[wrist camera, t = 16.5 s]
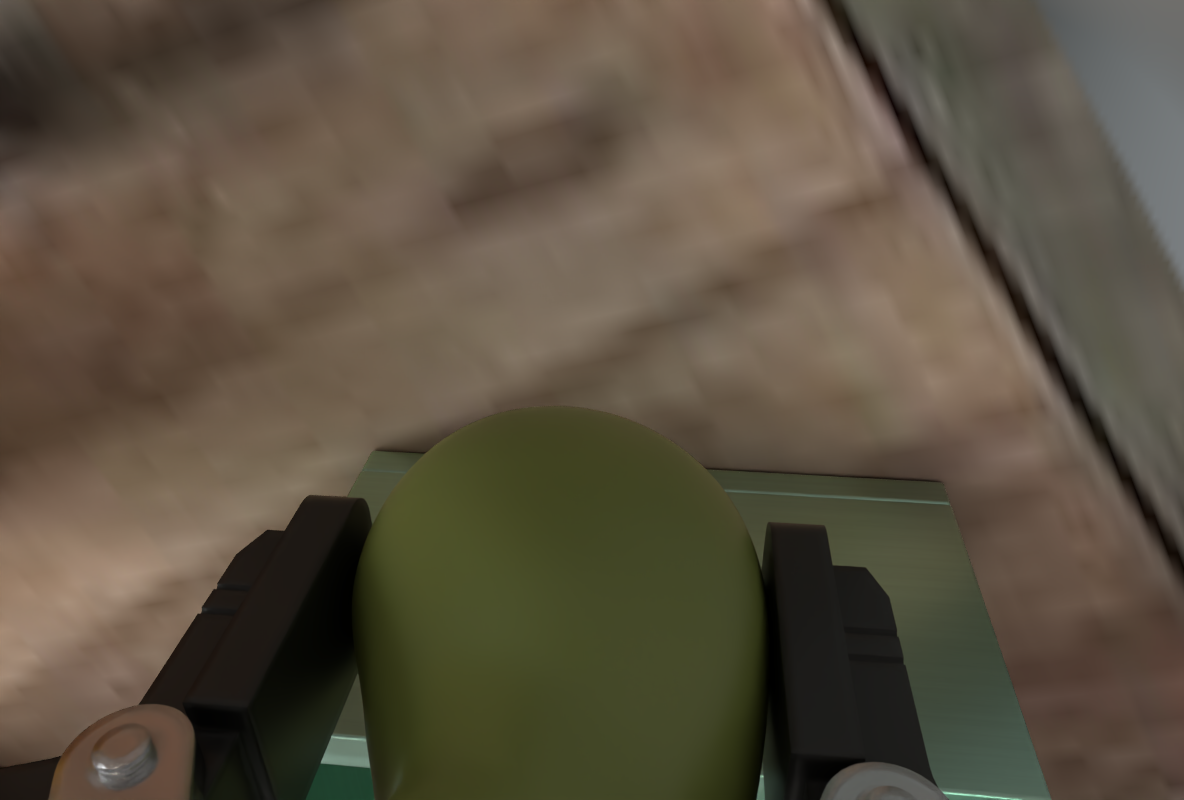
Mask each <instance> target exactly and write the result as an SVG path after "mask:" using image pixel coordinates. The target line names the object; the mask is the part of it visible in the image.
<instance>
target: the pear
mask: <svg viewBox="0 0 1184 800" xmlns="http://www.w3.org/2000/svg"><path fill="white" fill-rule="evenodd" d="M352 631H353V641H354V649H355V656H356V663H357V669H358V675H359V682H360V688H361V695H362V704H363V713H364V723H365V734H366V742H367V750H368V756H369V763H370V770H371V776H372V783H373V791H374V799H375V800H756V799H757V794H758V788H759V782H760V776H761V769H762V762H763V754H764V745H765V736H766V725H767V714H768V700H769V682H770V629H769V616H768V606H767V598H766V592H765V586H764V580H763V576H762V571H761V567H760V563H759V560H758V556H757V553H756V550H755V547H754V544H753V542H752V539H751V536H750V534H749V532H748V529H747V527H746V525H745V523H744V521H743V519H742V517H741V515H740V513H739V512H738V510H737V508H736V507H735V505H734V503H733V502H732V500H731V499H730V497H729V496H728V495H727V493H726V492H725V490H724V489H723V488H722V487H721V485H720V484H719V483H718V482H717V481H716V479H715V478H714V477H713V476H712V475H711V474H710V473H709V472H708V471H707V470H706V469H705V468H704V467H703V466H702V465H701V464H700V463H699V462H698V461H697V460H696V459H694V458H693V457H692V456H691V455H690V454H688V453H687V452H686V451H685V450H683V449H682V448H680V447H679V446H678V445H676V444H675V443H673V442H672V441H670V440H669V439H667V438H665V437H664V436H662V435H660V434H659V433H657V432H655V431H653V430H651V429H649V428H647V427H645V426H643V425H641V424H639V423H636V422H634V421H631V420H629V419H626V418H623V417H620V416H617V415H614V414H611V413H607V412H603V411H598V410H593V409H587V408H579V407H569V406H539V407H528V408H521V409H515V410H510V411H506V412H502V413H498V414H494V415H491V416H488V417H485V418H483V419H480V420H478V421H475V422H473V423H471V424H469V425H467V426H465V427H463V428H461V429H459V430H457V431H456V432H454V433H452V434H451V435H449V436H448V437H446V438H445V439H443V440H442V441H440V442H439V443H438V444H436V445H435V446H434V447H432V448H431V449H430V450H429V451H428V452H426V453H425V454H424V455H423V456H422V457H421V458H420V459H419V460H418V461H417V462H416V463H415V464H414V465H413V466H412V467H411V468H410V469H409V470H408V471H407V472H406V474H405V475H404V476H403V477H402V478H401V480H400V481H399V482H398V483H397V485H396V486H395V488H394V489H393V490H392V492H391V493H390V495H389V496H388V498H387V499H386V501H385V502H384V504H383V506H382V508H381V509H380V511H379V513H378V515H377V517H376V519H375V521H374V523H373V525H372V527H371V529H370V531H369V534H368V536H367V538H366V541H365V543H364V546H363V549H362V552H361V555H360V558H359V562H358V566H357V570H356V574H355V580H354V586H353V594H352Z"/></svg>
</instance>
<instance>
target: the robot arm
mask: <svg viewBox="0 0 1184 800" xmlns="http://www.w3.org/2000/svg"><path fill="white" fill-rule="evenodd" d="M371 527H372V521H371V515H370V510H369V506H368V504H367V502H366V500H365V499H363V498H355V497H337V496H319V495H309V496H307V497H306V498H305V499H304V500H303V502H302V503H301V505H300V506H299V508H298V510H297V511H296V513H295V515H294V516H293V518H292V520H291V521H290V523H289V525H288V526H287V528H286V530H285V531H277V530H267V531H265V532H264V533H263V534H262V535H260V536H259V537H258V538H256V539H255V540H254V541H253V542H251V543H250V544H249V545H248V546H246V547H245V548H244V549H243V550H241V551H240V552H239V553H237V554H236V556H235V557H234V559H233V560H232V562H231V563H230V565H229V566H228V568H227V569H226V571H225V573H224V574H223V576H222V577H221V579H220V580H219V582H218V583H217V584H218V586H217V589H214V590H213V591H212V593H211V594H210V596H209V597H208V599H207V600H206V602H205V603H204V605H203V606H202V612H201V614H197V616H196V617H195V619H194V620H193V622H192V623H191V625H190V627H189V628H188V630H187V631H186V633H185V634H184V636H183V637H182V639H181V640H180V642H179V643H178V645H177V647H176V648H175V650H174V651H173V653H172V654H171V656H170V657H169V659H168V660H167V662H166V664H165V665H164V667H163V668H162V670H161V671H160V673H159V674H158V676H157V677H156V679H155V681H154V682H153V684H152V685H151V687H150V688H149V690H148V691H147V693H146V694H145V696H144V697H143V699H142V701H141V702H140V703H139V705H137V706H132V707H129V708H125V709H122V710H119V711H117V712H114V713H112V714H109V715H108V716H106V717H104V718H102V719H100V720H98V721H97V722H95V723H94V724H92V725H91V726H89V727H88V728H87V729H85V730H84V731H83V732H82V733H81V734H79V735H78V736H77V737H76V738H75V739H74V741H73V742H72V743H71V744H70V745H69V746H68V748H67V749H66V750H65V752H64V753H63V754H62V756H59V757H55V758H51V759H46V760H41V761H36V762H31V763H26V764H20V765H15V766H10V767H5V768H0V800H306V797H307V795H308V792H309V790H310V788H311V785H312V783H313V780H314V778H315V775H316V773H317V771H318V768H319V766H320V763H321V761H322V758H323V756H324V754H325V751H326V749H327V746H328V744H329V742H330V739H331V737H332V734H333V732H334V729H335V727H336V725H337V722H338V720H339V717H340V715H341V712H342V710H343V708H344V705H345V703H346V700H347V698H348V695H349V693H350V691H351V688H352V686H353V683H354V681H355V679H356V676H357V674H358V669H357V663H356V656H355V649H354V641H353V631H352V594H353V586H354V580H355V574H356V570H357V566H358V562H359V558H360V555H361V552H362V549H363V546H364V543H365V541H366V538H367V536H368V534H369V531H370V529H371ZM761 571H762V576H763V580H764V586H765V592H766V598H767V606H768V616H769V629H770V682H769V700H768V714H767V725H766V736H765V745H764V754H763V776H764V792H765V800H949V799H948V798H947V797H946V795H945V794H944V793H943V792H942V791H941V790H940V789H939V788H938V786H937V784H936V782H935V780H934V778H933V775H932V772H931V769H930V765H929V761H928V757H927V753H926V749H925V744H924V740H923V736H922V732H921V728H920V724H919V719H918V715H917V711H916V707H915V703H914V698H913V694H912V690H911V686H910V682H909V677H908V673H907V669H906V665H904V656H903V652H902V648H901V644H900V640H899V637H897V627H896V623H895V619H894V614H893V610H892V606H891V602H890V598H889V596H888V595H887V593H886V592H885V591H884V590H883V588H882V587H881V586H880V585H879V583H878V582H877V581H876V579H875V578H874V577H873V576H872V574H871V573H870V572H869V571H868V569H867V568H866V567H855V566H838V565H833V564H832V558H831V552H830V547H829V541H828V535H827V530H826V527H825V525H816V524H798V523H780V522H768V524H767V527H766V534H765V543H764V551H763V560H762V569H761Z"/></svg>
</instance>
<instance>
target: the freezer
mask: <svg viewBox="0 0 1184 800" xmlns="http://www.w3.org/2000/svg"><path fill="white" fill-rule="evenodd" d="M423 455H424V454H422V453H404V452H386V451H373V452H371V454H370V456H369V458H368V460H367V462H366V464H365V465H364V467H363V470H362V471H361V472H360V474H359V476H358V478H357V480H356V481H355V483H354V485H353V487H352V489H351V491H350V492H349V494H348V496H347V497H355V498H363V499H365V500H366V502H367V504H368V506H369V510H370V515H371V521H372V525H373V523H374V521H375V519H376V517H377V515H378V513H379V511H380V509H381V508H382V506H383V504H384V502H385V501H386V499H387V498H388V496H389V495H390V493H391V492H392V490H393V489H394V488H395V486H396V485H397V483H398V482H399V481H400V480H401V478H402V477H403V476H404V475H405V474H406V472H407V471H408V470H409V469H410V468H411V467H412V466H413V465H414V464H415V463H416V462H417V461H418V460H419V459H420V458H421V457H422V456H423ZM706 470H707V471H708V472H709V473H710V474H711V475H712V476H713V477H714V478H715V479H716V481H717V482H718V483H719V484H720V485H721V487H722V488H723V489H724V490H725V492H726V493H727V495H728V496H729V497H730V499H731V500H732V502H733V503H734V505H735V507H736V508H737V510H738V512H739V513H740V515H741V517H742V519H743V521H744V523H745V525H746V527H747V529H748V532H749V534H750V536H751V539H752V542H753V544H754V547H755V550H756V553H757V556H758V560H759V563H760V567H761V569H762V560H763V551H764V543H765V534H766V527H767V524H768V522H780V523H798V524H816V525H825V527H826V530H827V535H828V541H829V547H830V552H831V558H832V564H833V565H838V566H855V567H866V568H867V569H868V571H869V572H870V573H871V574H872V576H873V577H874V578H875V579H876V581H877V582H878V583H879V585H880V586H881V587H882V588H883V590H884V591H885V592H886V593H887V595H888V596H889V598H890V602H891V606H892V610H893V614H894V619H895V623H896V627H897V637H899V640H900V644H901V648H902V652H903V656H904V665H906V669H907V673H908V677H909V682H910V686H911V690H912V694H913V698H914V703H915V707H916V711H917V715H918V719H919V724H920V728H921V732H922V736H923V740H924V744H925V749H926V753H927V757H928V761H929V765H930V769H931V772H932V775H933V778H934V780H935V782H936V784H937V786H938V788H939V789H940V790H941V791H942V792H943V793H944V794H945V795H946V797H947V798H948V799H949V800H1051V796H1050V793H1049V791H1048V788H1047V785H1046V782H1045V779H1044V776H1043V773H1042V770H1041V767H1040V764H1039V761H1038V758H1037V755H1036V752H1035V750H1034V747H1033V744H1032V741H1031V738H1030V735H1029V732H1028V729H1027V726H1026V723H1025V720H1024V717H1023V714H1022V711H1021V709H1020V706H1019V703H1018V700H1017V697H1016V694H1015V691H1014V688H1013V685H1012V682H1011V679H1010V676H1009V673H1008V670H1007V667H1006V665H1005V662H1004V659H1003V656H1002V653H1001V650H1000V647H999V644H998V641H997V638H996V635H995V632H994V629H993V626H992V624H991V621H990V618H989V615H988V612H987V609H986V606H985V603H984V600H983V597H982V594H981V591H980V588H979V585H978V583H977V580H976V577H975V574H974V571H973V568H972V565H971V562H970V559H969V556H968V553H967V550H966V547H965V544H964V542H963V539H962V536H961V533H960V530H959V527H958V524H957V521H956V518H955V515H954V512H953V509H952V506H951V505H950V501H949V498H948V495H947V492H946V490H945V487H944V484H943V483H941V482H926V481H908V480H890V479H872V478H854V477H836V476H818V475H800V474H782V473H764V472H746V471H728V470H710V469H706ZM306 800H375V799H374V791H373V783H372V776H371V770H370V763H369V756H368V750H367V742H366V734H365V723H364V713H363V704H362V695H361V688H360V682H359V675H358V674H357V676H356V679H355V681H354V683H353V686H352V688H351V691H350V693H349V695H348V698H347V700H346V703H345V705H344V708H343V710H342V712H341V715H340V717H339V720H338V722H337V725H336V727H335V729H334V732H333V734H332V737H331V739H330V742H329V744H328V746H327V749H326V751H325V754H324V756H323V758H322V761H321V763H320V766H319V768H318V771H317V773H316V775H315V778H314V780H313V783H312V785H311V788H310V790H309V792H308V795H307V797H306ZM756 800H765V792H764V776H763V762H762V769H761V776H760V782H759V788H758V794H757V799H756Z"/></svg>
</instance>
